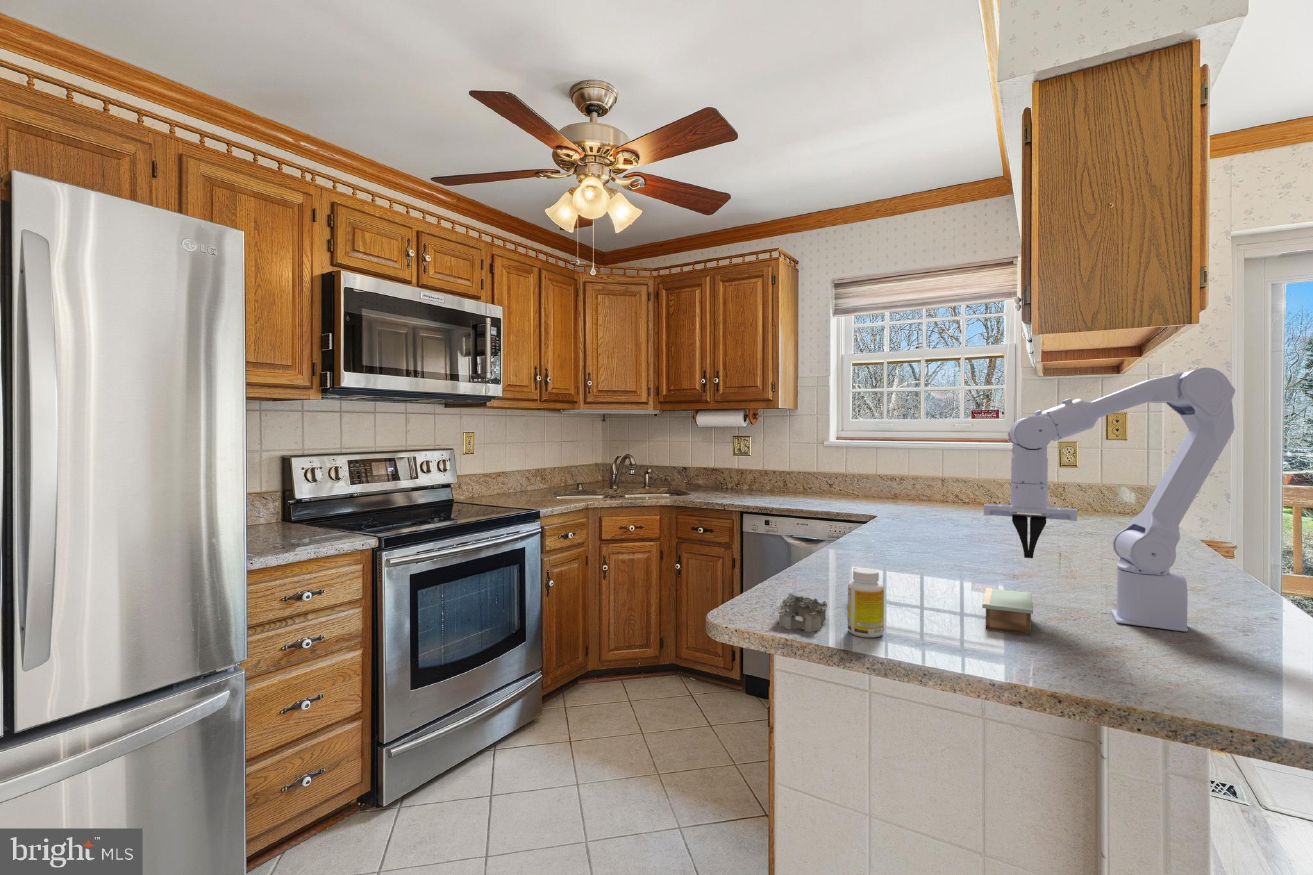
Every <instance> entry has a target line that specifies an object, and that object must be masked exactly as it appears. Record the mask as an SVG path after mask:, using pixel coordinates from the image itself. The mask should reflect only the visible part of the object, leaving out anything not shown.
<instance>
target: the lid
mask: <svg viewBox="0 0 1313 875" xmlns="http://www.w3.org/2000/svg"><path fill="white" fill-rule="evenodd" d="M1033 604H1034V603H1033V593H1032V592H1030V591H1029V592H1028V591H1018V590H1017V591H1016V590H1007V589H998V588H997V589H996V588H991V587H985V592H984V596H983V599H982V609H985V610H986V609H995V610H1004V611H1012V612H1021V613H1030V614H1031V615H1032V614H1033V615H1034V606H1033Z"/></svg>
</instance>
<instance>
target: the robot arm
mask: <svg viewBox="0 0 1313 875" xmlns="http://www.w3.org/2000/svg"><path fill="white" fill-rule="evenodd" d="M1235 393H1236V389H1235V388H1234V386H1233V384H1232V383H1231V382H1230V380H1229V378H1228V377H1227V376H1226V375H1225V374H1224V372H1221V371H1220V370H1218V369H1215V368H1212V367H1200V368H1195V369H1192V370H1189V371H1183V372H1182V371H1181V372H1175V373H1172V374H1169V375H1163V376H1160V377H1156V378H1151V379H1147V380H1144V381H1143V380H1142V381H1140V382H1137V383H1135V384H1133V385H1130V386H1128V387H1126V388H1122V389H1119V390H1117V391H1116V392H1115V391H1114V392H1112V393H1109V394H1107V395H1105V396H1102V397H1099V398H1097V399H1094V400H1092V401H1088V400H1085V399H1082V398H1076V399H1073V400H1072V398H1067V399H1064V400H1061V404H1060V405H1057V406H1054V407H1051V408H1049V409H1046V410H1043V411H1042V410H1040V409H1039V410H1035V411H1034V412H1033V414H1034V415H1033V416H1032V415H1031V416H1028V417H1024V418H1019V419H1017V420H1016V421H1015V422H1014V423H1013V424H1012V425H1011V426H1010V428H1009V432H1008V433H1007V436H1008V440H1009V441H1010V442H1011V444H1012V449H1011V453H1012V456H1011V462H1010V463H1011V468H1010V469H1011V470H1010V471H1011V472H1010V473H1011V474H1010V477H1011V479H1010V484H1011V486H1010V488H1011V489H1010V504H993V503H992V504H991V503H990V504H989V503H984V505H983V515H984V516H998V517H999V516H1001V517H1011V521H1012V525H1013V526H1014V528H1015V530H1016V532H1017V534H1018V537H1019V540H1020V542H1021V546H1022V551H1023V558H1025V559H1034V553H1035V549H1036V545H1037V543H1038V541H1039V538H1040V536H1041V534H1042V532H1043V530H1044V528H1045V527H1046V525H1047V519H1049V520H1064V521H1070V522H1071V521H1072V522H1073V521H1074V522H1078V509H1077V508H1066V507H1064V508H1063V507H1054V506H1053V507H1052V506H1048V489H1049V488H1048V487H1049V486H1048V483H1049V482H1048V481H1049V480H1048V477H1049V474H1048V471H1049V468H1048V467H1049V466H1048V465H1049V464H1048V463H1049V459H1048V445H1049V444H1050V443H1051V441H1053V442H1057V441H1059V440H1063V439H1065V438H1068V437H1071V436H1074V435H1077V434H1079V433H1082V432H1085V431H1089V430H1091V429H1093V428H1094V427H1095V425H1096V423H1097V422H1098V420H1099V419H1100V418H1103V417H1105V416H1109V415H1113V414H1115V413H1117V412H1121V411H1124V410H1128V409H1130V408H1133V407H1137V406H1140V405H1143V404H1146V403H1153V404H1164V403H1165V404H1166V405H1167V406H1168V407H1169V408H1170V409H1172V410H1173V411H1174V412H1176V413H1177V414H1178V415H1179V416H1180V418H1181V419H1182V421H1183V423H1184V424H1185V425H1186V427H1187V430H1188V431H1187V433H1186V435H1185V437H1184V438H1183V440H1182V442H1181V443H1180V445H1179V447H1178V448H1177V451H1176V452H1175V455H1174V456H1173V458H1172V459H1171V461H1170V462H1169V465H1168V466H1167V468H1166V469H1165V472H1164V474H1163V475H1162V477H1161V478H1160V480H1159V481H1158V482H1159V483H1158V484H1157V485H1156V487H1155V489H1154V490H1153V493H1152V494H1151V496H1150V498H1149V500H1148V501H1147V503H1146V505H1145V507H1144V508H1143V510H1142V511H1141V512H1140V513H1138V514H1137V515H1136V516H1134V517H1133V518H1132V519H1131V521H1130V522H1129V524H1128V525H1126V527H1125V528H1123V529H1121V530H1120V531H1119V532H1117V533H1116V534H1115V536H1114V538H1113V540H1112V548H1113V551H1114V553H1115V554H1116V556H1117V557H1119V561H1118V562H1117V563H1116V609H1114V608H1113V609H1111V610H1110V612H1111V614H1112V616H1113V618H1114V621H1116V623H1118V624H1123V625H1124V624H1126V625H1133V626H1140V627H1149V628H1156V629H1162V630H1172V631H1177V632H1179V631H1180V632H1186V633H1187V632H1188V631H1189V628H1188V598H1189V597H1188V585H1187V579H1186V577H1185V575H1184V574H1182V573H1175V572H1170V569H1171V568H1172V566H1173V565H1174V563H1175V562H1176V557H1177V551H1176V550H1177V549H1176V548H1177V545H1178V544H1179V542H1180V539H1181V533H1180V523H1181V522H1182V521H1183V519H1184V516H1185V515H1186V513H1187V512H1188V510H1189V509H1190V507H1191V506H1192V504H1193V502H1194V500H1195V498H1196V497H1197V495H1198V493H1199V491H1200V490H1201V488H1202V486H1203V484H1204V483H1205V482H1206V479H1207V478H1208V476H1209V475H1210V472H1211V471H1212V469H1213V468H1214V466H1215V464H1216V462H1217V460H1219V457H1220V455H1221V453H1223V450H1224V448H1225V447H1226V445H1227V444H1228V442H1229V440H1230V438H1231V436H1232V435H1233V433H1234V431H1235V419H1234V417H1235V416H1234V407H1233V398H1234V395H1235ZM1028 518H1029V519H1028ZM1028 520H1029V521H1028ZM1028 522H1029V524H1028ZM1028 525H1029V527H1028ZM1028 529H1029V530H1028ZM1028 531H1029V532H1028ZM1028 533H1029V536H1028ZM1028 537H1029V539H1028Z"/></svg>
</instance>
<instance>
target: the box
mask: <svg viewBox="0 0 1313 875" xmlns="http://www.w3.org/2000/svg"><path fill="white" fill-rule="evenodd" d="M1031 617H1032V614H1030V613H1021V612H1012V611H1004V610H995V609H986V608H985V630H987V631H992V632H999V633H1007V634H1011V635H1019V636H1027V637H1031V636H1032V634H1031V632H1032V631H1031V629H1032V626H1031V624H1032V621H1031V620H1032V618H1031Z"/></svg>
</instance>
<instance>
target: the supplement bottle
mask: <svg viewBox="0 0 1313 875" xmlns="http://www.w3.org/2000/svg"><path fill="white" fill-rule="evenodd" d="M879 575H880V574H879V571H878V570H877V569H874V568H866V567H864V568H863V567H858V568H857V569H854V570H853V571H852V580H850V581H849V582H848V584H847V629H848V631H849V633H850V634H852V635H854V636H856V637H861V638H871V639H872V638H878V637H881V636H882V635H883V634H884V630H885V624H884V622H885V619H884V616H885V614H884V613H885V612H884V611H885V608H884V606H885V604H884V602H885V593H884V592H885V588H884V585H883V583H881V582H879V581H880V576H879Z"/></svg>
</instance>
